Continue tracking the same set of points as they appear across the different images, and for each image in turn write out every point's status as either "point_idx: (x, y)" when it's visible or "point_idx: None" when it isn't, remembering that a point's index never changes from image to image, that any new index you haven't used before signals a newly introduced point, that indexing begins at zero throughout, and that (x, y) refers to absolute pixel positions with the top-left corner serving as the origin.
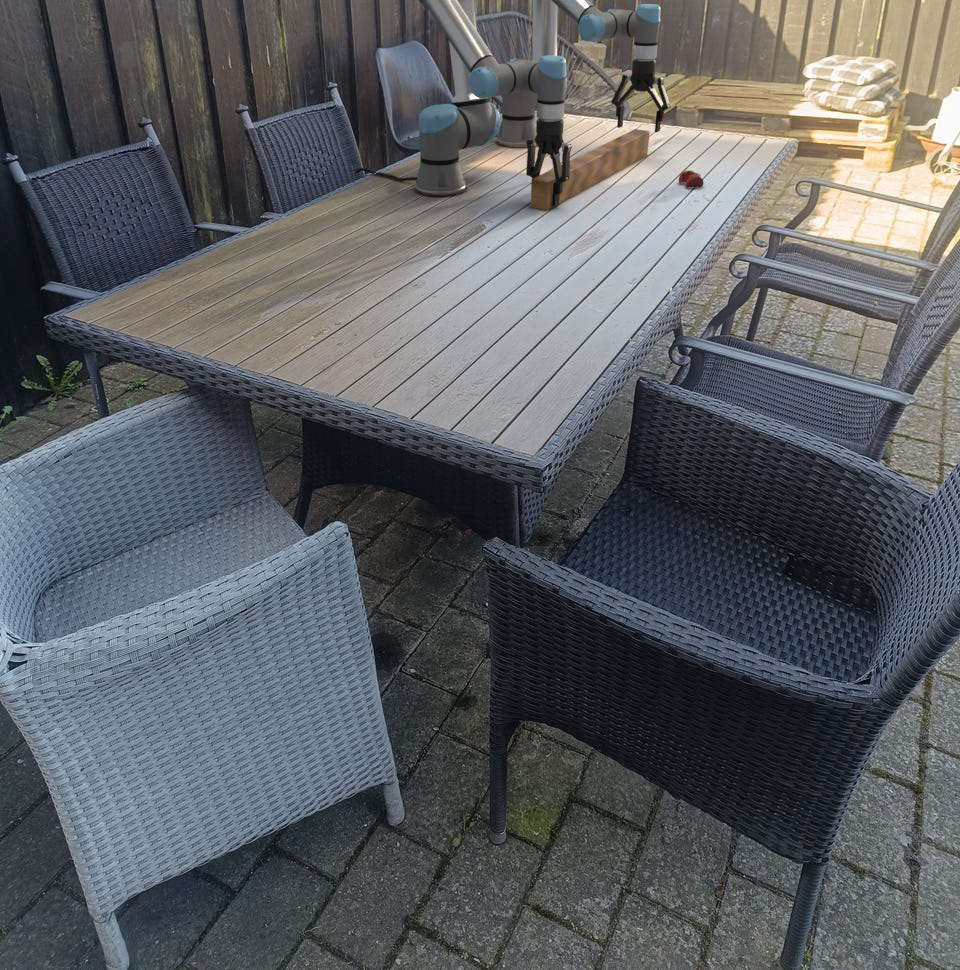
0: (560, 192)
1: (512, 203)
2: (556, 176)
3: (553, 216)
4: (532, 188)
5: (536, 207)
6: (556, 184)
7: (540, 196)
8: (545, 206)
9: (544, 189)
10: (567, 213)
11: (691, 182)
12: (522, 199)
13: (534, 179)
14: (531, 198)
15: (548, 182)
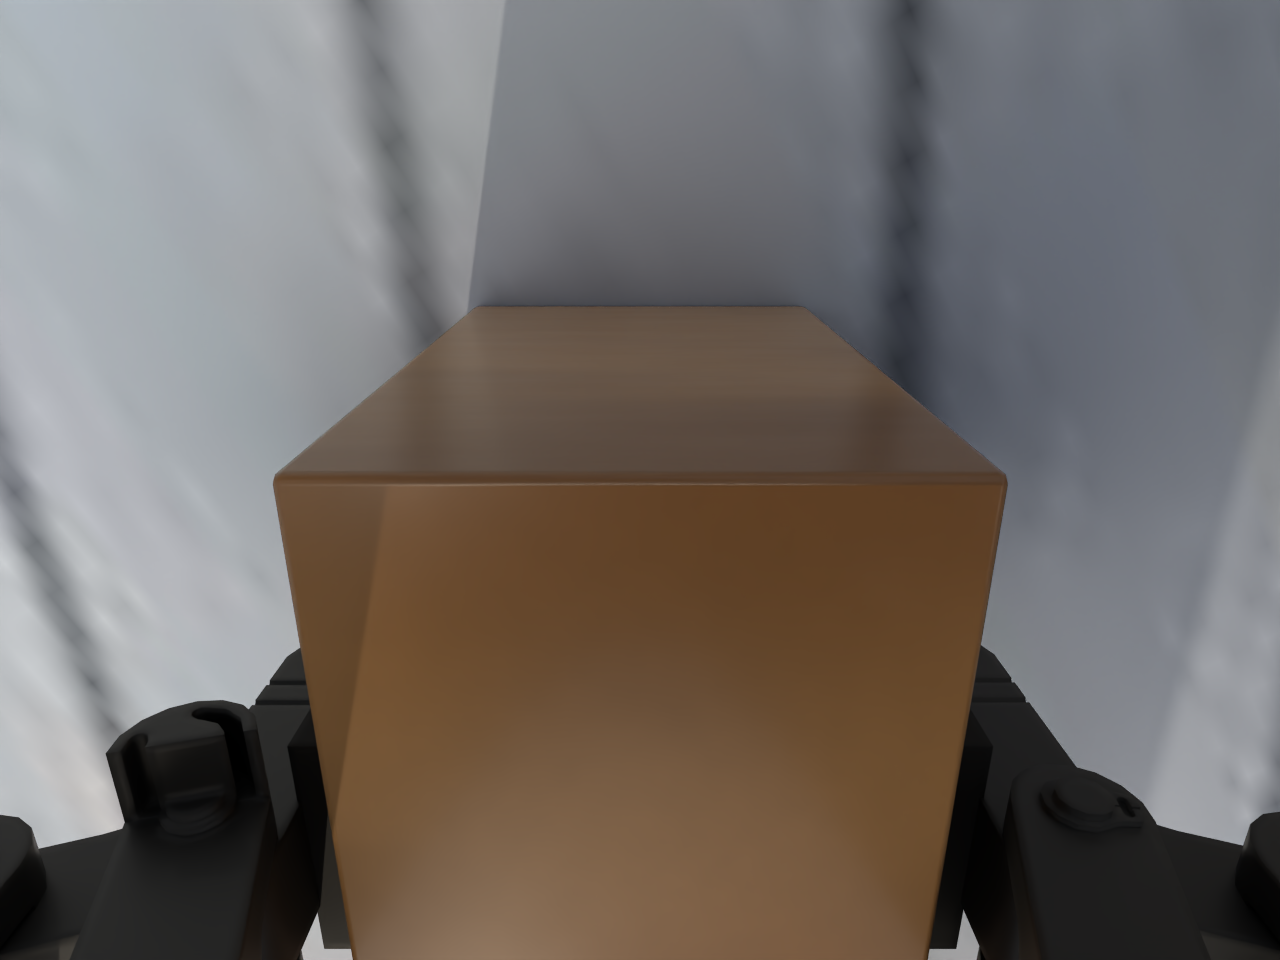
0: (286, 677)
1: (1188, 332)
2: (179, 924)
3: (188, 73)
4: (865, 389)
5: (685, 307)
6: (307, 758)
7: (606, 354)
8: (495, 318)
9: (474, 399)
10: (116, 368)
11: None
12: (1098, 594)
13: (893, 505)
14: (827, 337)
15: (275, 491)
